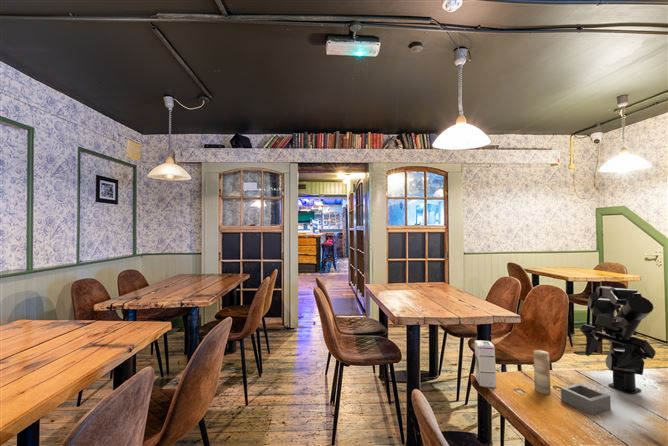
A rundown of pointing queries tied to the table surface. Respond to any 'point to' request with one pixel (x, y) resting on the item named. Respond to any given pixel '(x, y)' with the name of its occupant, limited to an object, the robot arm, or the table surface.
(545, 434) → the table surface
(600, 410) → the square sleeve socket
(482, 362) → the syrup box
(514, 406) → the table surface
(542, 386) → the wooden peg
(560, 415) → the table surface
